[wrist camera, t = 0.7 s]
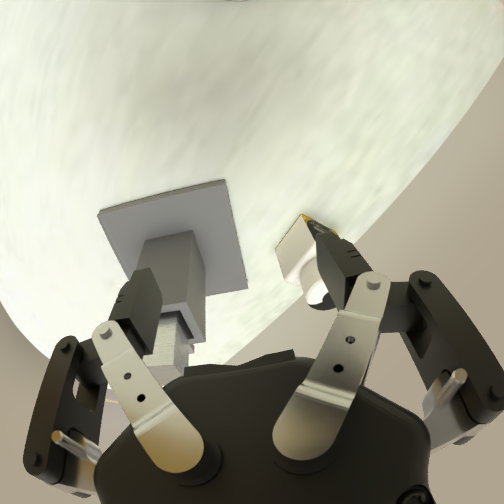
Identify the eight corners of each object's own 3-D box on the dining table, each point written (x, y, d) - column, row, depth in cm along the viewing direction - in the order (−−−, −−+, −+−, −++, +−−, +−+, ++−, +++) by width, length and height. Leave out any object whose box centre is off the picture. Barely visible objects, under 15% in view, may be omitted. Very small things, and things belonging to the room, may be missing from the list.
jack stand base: (100, 210, 34) (58, 280, 23) (224, 179, 34) (230, 245, 23) (145, 299, 45) (132, 372, 34) (247, 282, 45) (259, 358, 34)
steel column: (157, 248, 37) (133, 367, 22) (185, 242, 37) (173, 364, 22) (166, 270, 39) (151, 386, 25) (193, 265, 39) (188, 383, 25)
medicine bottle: (336, 232, 41) (369, 285, 32) (309, 265, 45) (333, 321, 35) (301, 212, 39) (329, 267, 29) (273, 249, 42) (291, 309, 32)
